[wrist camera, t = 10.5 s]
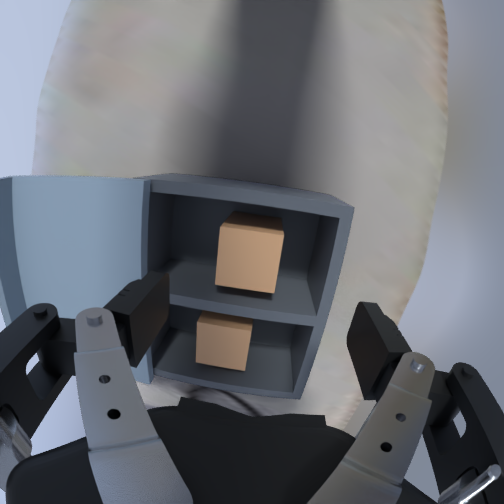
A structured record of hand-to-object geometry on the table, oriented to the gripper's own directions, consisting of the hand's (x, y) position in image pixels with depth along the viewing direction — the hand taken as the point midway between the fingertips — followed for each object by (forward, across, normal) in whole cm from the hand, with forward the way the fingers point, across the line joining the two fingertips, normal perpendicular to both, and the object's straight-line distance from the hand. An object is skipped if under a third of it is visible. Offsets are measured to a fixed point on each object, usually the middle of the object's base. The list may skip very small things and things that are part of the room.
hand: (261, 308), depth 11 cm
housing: (+14, +2, +4) cm, 14 cm away
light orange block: (+13, +1, +1) cm, 13 cm away
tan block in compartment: (+13, +2, +8) cm, 15 cm away
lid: (+6, +15, +4) cm, 17 cm away
